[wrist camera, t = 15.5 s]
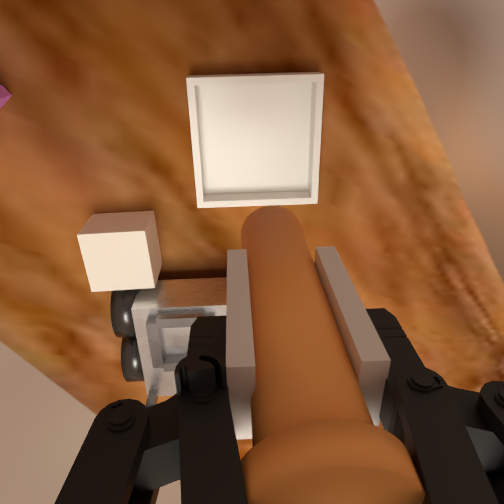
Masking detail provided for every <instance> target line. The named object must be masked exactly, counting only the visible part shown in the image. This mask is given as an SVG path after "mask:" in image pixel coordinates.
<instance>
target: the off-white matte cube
mask: <svg viewBox="0 0 504 504" xmlns="http://www.w3.org/2000/svg"><path fill="white" fill-rule="evenodd" d="M77 238H78V241H79V245H80V249H81V253H82V257H83V261H84V264H85V268H86V272H87V276H88V280H89V284H90V287H91V291H92V292H98V291H114V290H131V289H147V288H155V286H156V283H157V279H158V276H159V273H160V270H161V266H162V258H161V252H160V246H159V240H158V234H157V228H156V221H155V215H154V211H137V212H119V213H102V214H93V215H92V216H91V217H90V218H89V220H88V221H87V222H86V224H85V225H84V226H83V227H82V229H81V230H80V231H79V233H78V234H77Z"/></svg>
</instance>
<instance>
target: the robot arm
mask: <svg viewBox="0 0 504 504" xmlns="http://www.w3.org/2000/svg"><path fill="white" fill-rule="evenodd" d="M315 267H316V269H317V272H318V275H319V277H320V280H321V283H322V286H323V288H324V291H325V294H326V296H327V299H328V302H329V304H330V307H331V310H332V313H333V315H334V318H335V321H336V323H337V326H338V329H339V332H340V334H341V337H342V340H343V342H344V345H345V348H346V351H347V353H348V356H349V359H350V361H351V364H352V367H353V370H354V372H355V375H356V378H357V380H358V383H359V386H360V388H361V391H362V394H363V396H364V399H365V402H366V404H367V407H368V410H369V413H370V415H371V418H372V421H373V423H374V425H375V426H378V427H379V422H380V420H381V422H382V425H383V427H384V430H386V431H388V432H390V433H391V434H393V435H394V436H396V437H397V438H398V439H399V440H400V441H401V442H402V443H403V444H404V446H405V447H406V448H407V450H408V452H409V454H410V456H411V458H412V461H413V463H414V466H415V468H416V470H417V473H418V475H419V478H420V480H421V483H422V485H423V488H424V490H425V493H426V494H425V497H424V501H423V504H504V382H503V381H491V382H488V383H485V384H484V386H483V387H482V388H481V391H480V393H479V392H474V391H469V390H464V389H458V388H455V387H451V386H448V385H447V383H446V382H445V380H444V379H443V378H442V377H441V376H440V375H438V374H437V373H436V372H434V371H432V370H430V369H428V368H425V366H424V365H423V363H422V361H421V359H420V358H419V356H418V354H417V353H416V351H415V349H414V347H413V346H412V344H411V342H410V341H409V339H408V338H407V336H406V334H405V332H404V330H403V329H402V327H401V325H400V324H399V322H398V320H397V319H396V317H395V316H394V315H392V314H391V313H390V312H388V311H387V310H386V309H385V308H378V309H365V307H364V305H363V303H362V301H361V299H360V297H359V295H358V293H357V291H356V289H355V287H354V285H353V283H352V281H351V279H350V277H349V275H348V273H347V271H346V269H345V267H344V265H343V263H342V261H341V259H340V256H339V254H338V252H337V250H336V248H335V246H331V247H316V249H315ZM174 376H175V384H176V391H177V393H176V394H175V395H174V396H173V397H171V398H170V399H168V400H166V401H164V402H161V403H159V404H156V405H152V406H149V407H145V405H144V404H142V403H141V402H140V401H138V400H133V399H123V400H118V401H115V402H113V403H111V404H109V405H107V406H106V407H105V408H103V409H102V410H101V411H100V412H99V413H98V415H97V416H96V418H95V419H94V422H93V423H92V426H91V428H90V430H89V432H88V434H87V437H86V438H85V440H84V443H83V445H82V447H81V449H80V451H79V453H78V455H77V457H76V459H75V461H74V464H73V466H72V468H71V470H70V472H69V474H68V476H67V478H66V480H65V483H64V485H63V487H62V489H61V491H60V493H59V495H58V497H57V500H56V502H55V504H155V503H156V500H157V496H158V492H159V488H160V487H161V486H164V485H167V484H169V483H172V482H174V481H177V480H181V504H248V500H247V495H246V489H245V484H244V478H243V473H242V467H241V462H240V456H239V451H238V445H237V440H236V439H252V423H251V397H252V394H253V392H254V389H255V388H256V375H255V355H254V342H253V329H252V316H251V303H250V290H249V277H248V264H247V251H246V249H241V250H227V310H226V315H223V316H198V317H197V319H196V320H195V321H194V323H193V324H192V325H191V328H190V335H189V342H188V350H187V357H185V358H183V359H182V360H181V361H180V362H179V363H178V364H177V365H176V368H175V372H174Z"/></svg>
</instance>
